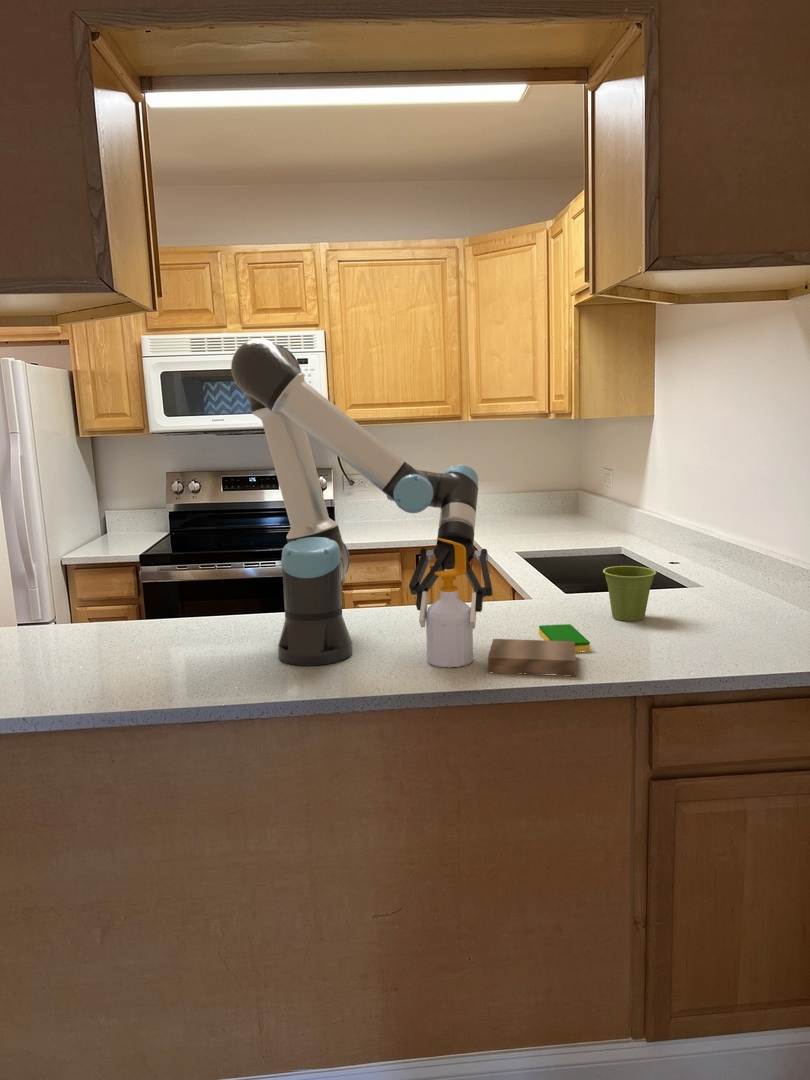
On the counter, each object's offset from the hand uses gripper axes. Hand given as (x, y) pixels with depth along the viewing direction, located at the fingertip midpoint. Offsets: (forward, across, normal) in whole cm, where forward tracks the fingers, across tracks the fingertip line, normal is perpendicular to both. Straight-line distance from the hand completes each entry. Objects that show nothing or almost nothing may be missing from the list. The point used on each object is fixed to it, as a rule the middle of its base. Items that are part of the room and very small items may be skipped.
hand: (447, 624), depth 142 cm
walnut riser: (+4, -16, -8) cm, 18 cm away
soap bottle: (+4, 0, -8) cm, 9 cm away
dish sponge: (-6, -22, -19) cm, 30 cm away
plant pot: (-22, -37, -34) cm, 55 cm away
